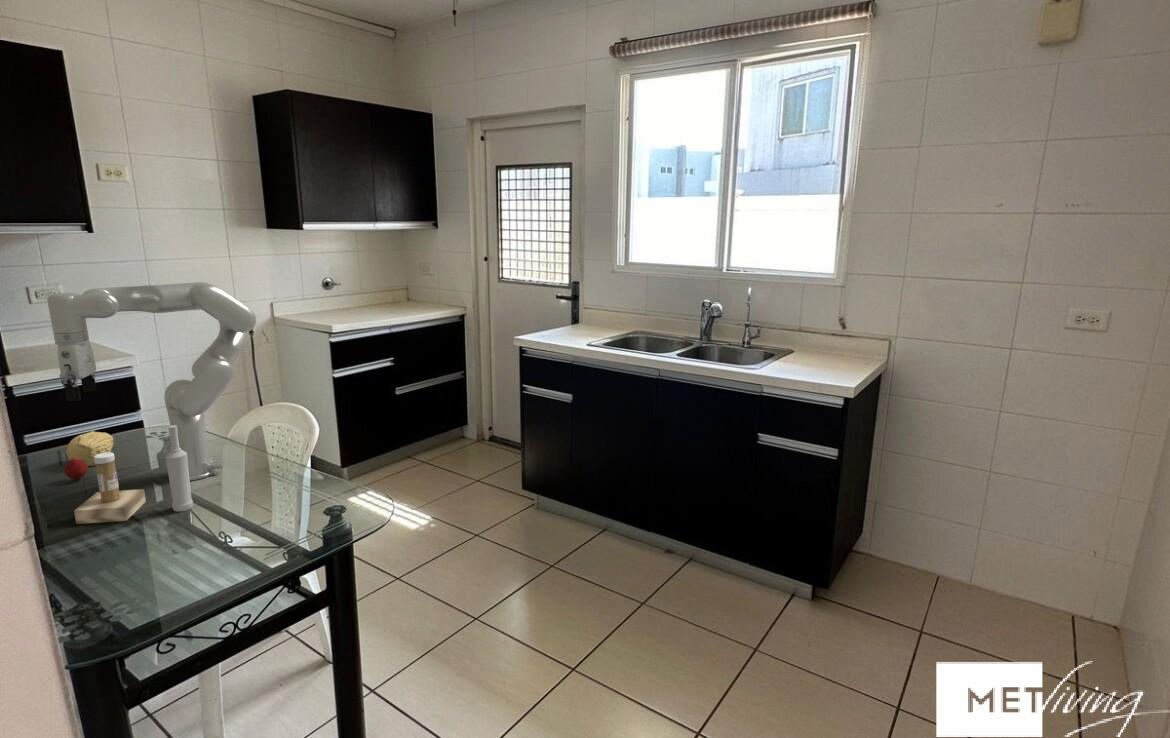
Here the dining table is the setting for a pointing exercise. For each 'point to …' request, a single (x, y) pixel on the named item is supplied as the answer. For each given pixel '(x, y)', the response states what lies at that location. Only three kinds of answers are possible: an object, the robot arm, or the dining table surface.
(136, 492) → the wooden base
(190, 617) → the dining table surface
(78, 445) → the sculpture
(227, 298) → the robot arm
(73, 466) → the red rounded lump
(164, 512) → the dining table surface
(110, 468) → the sprinkles bottle
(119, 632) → the dining table surface
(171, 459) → the bottle
